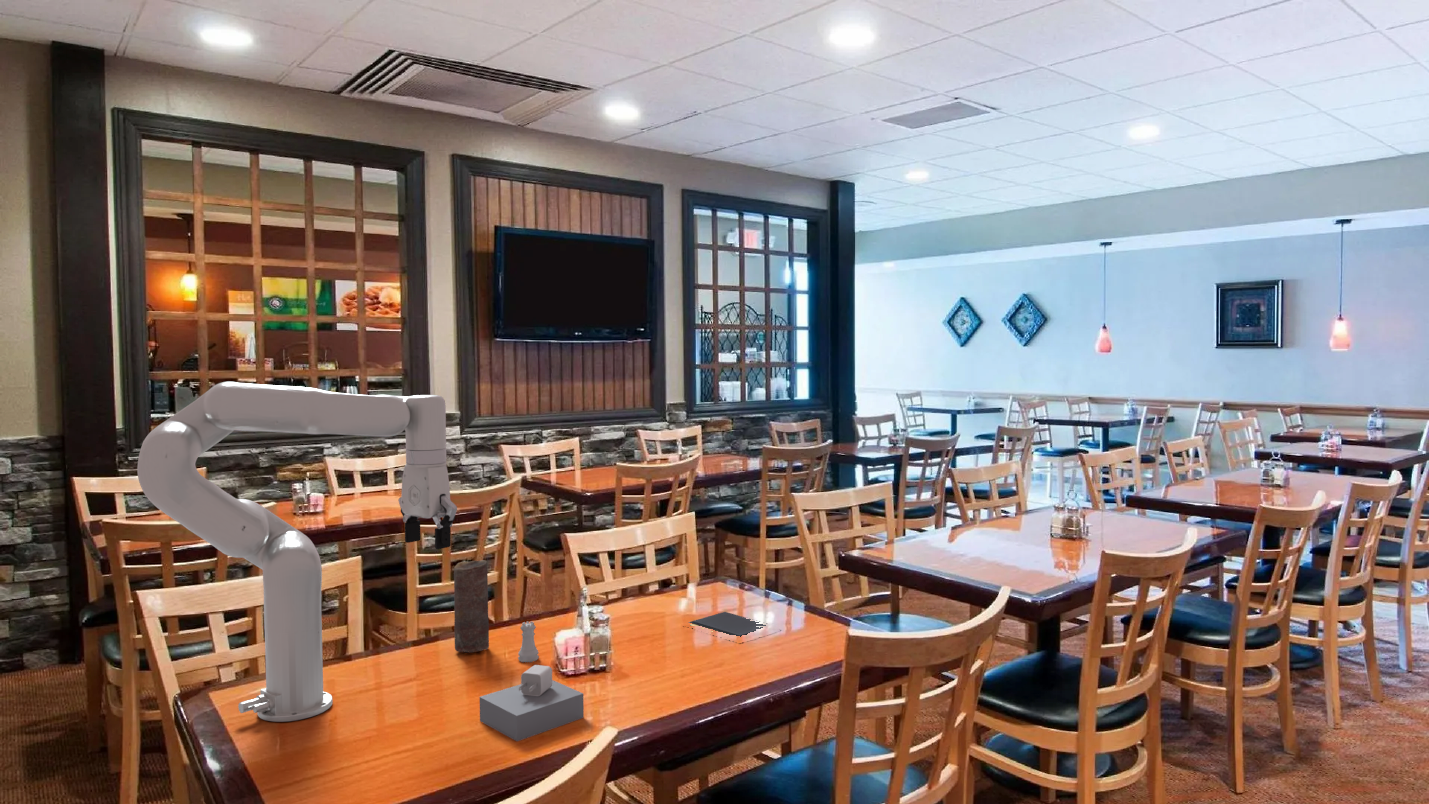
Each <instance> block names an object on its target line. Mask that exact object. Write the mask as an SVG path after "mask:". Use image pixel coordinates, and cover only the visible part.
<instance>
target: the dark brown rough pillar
mask: <svg viewBox="0 0 1429 804" xmlns="http://www.w3.org/2000/svg"><path fill="white" fill-rule="evenodd" d="M453 571H454V572H453V580H454V581H453V582H454V583H453V584H454V586H453V588H454V589H453V591H454V595H453V597H454V599H453V601H454V613H453V615H454V623H453V624H454V649H455V651H456V652H458V653H467V654H468V653H477V652H481V651H484V650H488V649H489V647H490V642H489V641H490V638H489V637H490V629H489V625H490V624H489V585H488V584H489V583H488V580H489V579H488V578H489V577H488V562H487V560H485V559H484V560H483V559H482V560H472V561H461V562H458V563H456V565H455V566H454V567H453Z"/></svg>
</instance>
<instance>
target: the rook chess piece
mask: <svg viewBox="0 0 1429 804" xmlns="http://www.w3.org/2000/svg"><path fill="white" fill-rule="evenodd" d="M536 628H537V626H536V625H535V622H534V621H532V620H531V621H526V622H525V621H524V622H522V623H521V627H520V630H521V631H522V633H521V636H522V642H521V647H520V650H519V651H518V657H517V659H518V660H519V662H520V663H524V662H525V664H527V663H528V662H529V663H534V662H537V660H538V659H539V658H540V656H539V650H538V649H537V647H536V645H535V634H536V633H535V629H536ZM533 661H534V662H533ZM526 662H527V663H526ZM529 663H528V664H529Z"/></svg>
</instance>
